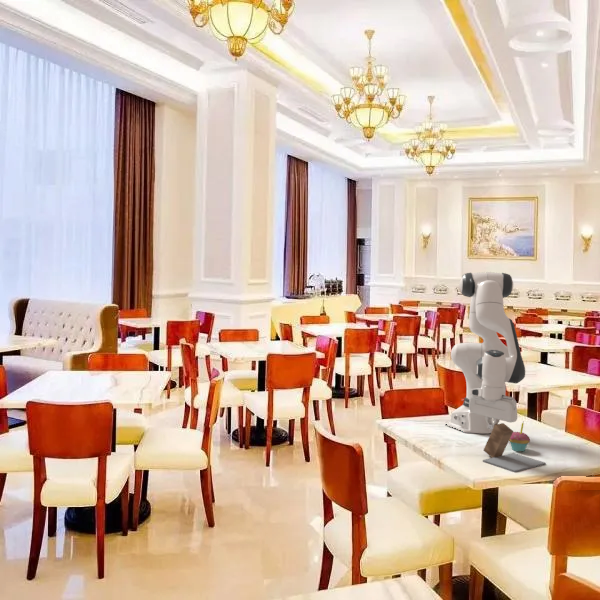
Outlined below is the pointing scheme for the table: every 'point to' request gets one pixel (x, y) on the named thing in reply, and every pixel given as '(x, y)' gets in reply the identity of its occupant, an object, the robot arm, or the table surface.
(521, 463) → the mat
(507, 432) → the walnut block
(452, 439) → the table surface
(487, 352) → the robot arm
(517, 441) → the cupcake
